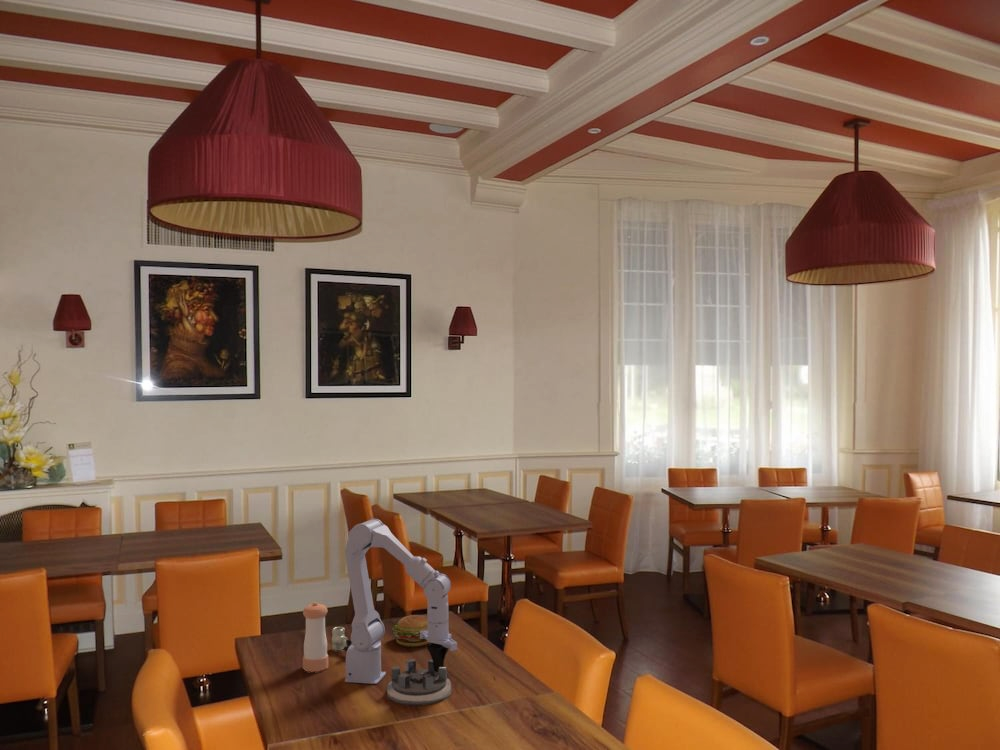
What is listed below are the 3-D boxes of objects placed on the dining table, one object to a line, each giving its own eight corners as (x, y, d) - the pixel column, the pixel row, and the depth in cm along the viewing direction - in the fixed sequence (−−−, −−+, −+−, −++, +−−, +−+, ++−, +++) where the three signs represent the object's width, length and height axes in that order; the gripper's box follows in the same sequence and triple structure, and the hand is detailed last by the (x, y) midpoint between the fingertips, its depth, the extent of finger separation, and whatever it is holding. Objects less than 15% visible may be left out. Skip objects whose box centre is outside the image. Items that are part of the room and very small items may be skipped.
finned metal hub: (387, 694, 198) (386, 677, 198) (397, 673, 212) (397, 657, 212) (443, 695, 197) (443, 678, 197) (449, 673, 211) (449, 657, 211)
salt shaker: (297, 670, 221) (297, 604, 221) (312, 662, 227) (312, 597, 228) (318, 674, 218) (318, 606, 218) (333, 665, 225) (333, 600, 225)
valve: (325, 650, 238) (345, 660, 229) (325, 629, 238) (345, 638, 229) (344, 645, 242) (364, 655, 233) (344, 624, 242) (364, 633, 233)
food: (400, 651, 236) (400, 625, 236) (388, 638, 249) (388, 613, 249) (442, 645, 241) (442, 620, 241) (428, 632, 254) (428, 608, 254)
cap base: (378, 703, 198) (378, 694, 198) (398, 678, 214) (398, 670, 214) (441, 707, 195) (441, 699, 195) (457, 682, 211) (457, 674, 211)
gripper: (465, 623, 206) (466, 674, 206) (434, 612, 217) (434, 660, 217) (445, 629, 201) (445, 680, 201) (413, 617, 212) (414, 666, 212)
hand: (438, 670), depth 208 cm, fingers closed
